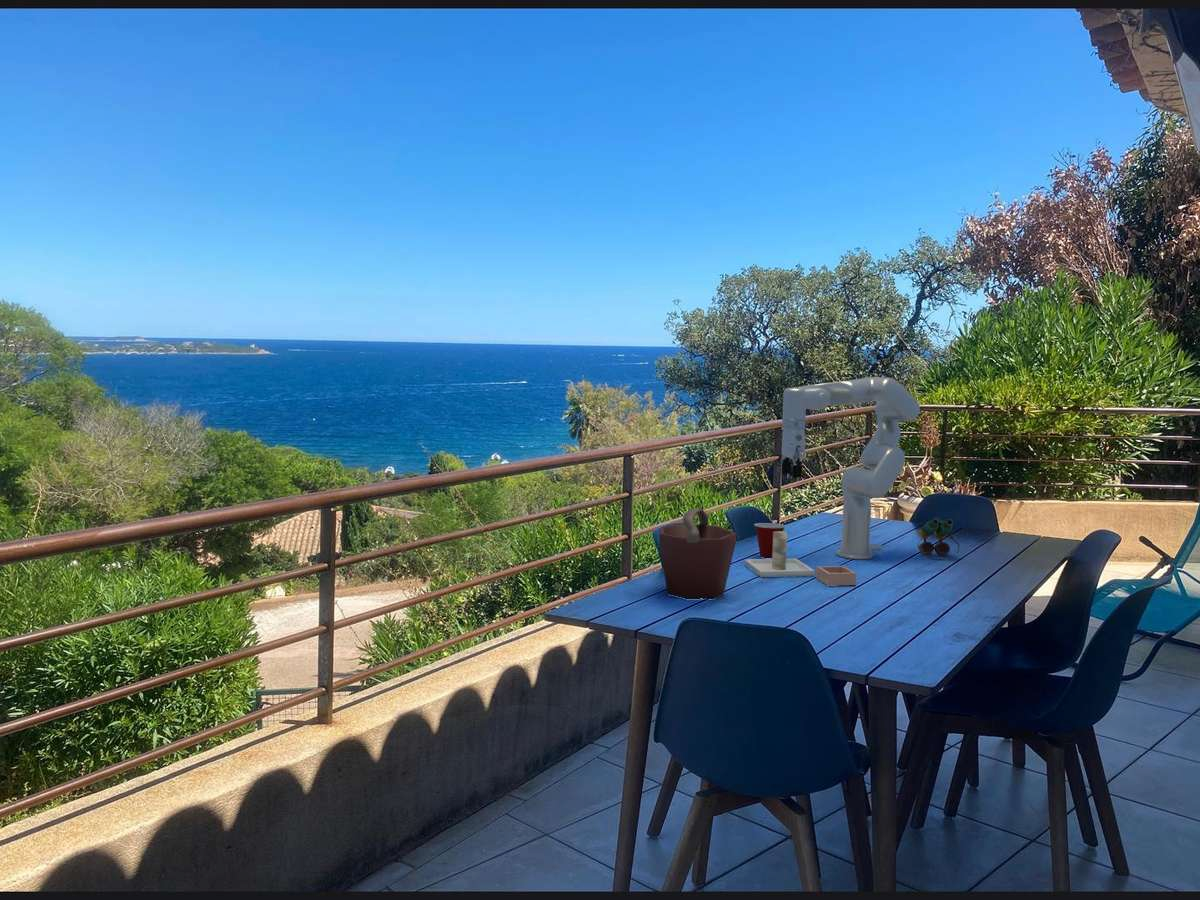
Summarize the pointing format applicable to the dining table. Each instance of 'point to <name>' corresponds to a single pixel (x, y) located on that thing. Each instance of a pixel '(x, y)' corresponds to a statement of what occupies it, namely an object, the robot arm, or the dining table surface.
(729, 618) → the dining table surface
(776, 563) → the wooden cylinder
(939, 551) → the binoculars
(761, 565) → the plastic tray
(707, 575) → the bucket
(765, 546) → the plastic cup
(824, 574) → the terracotta holder
